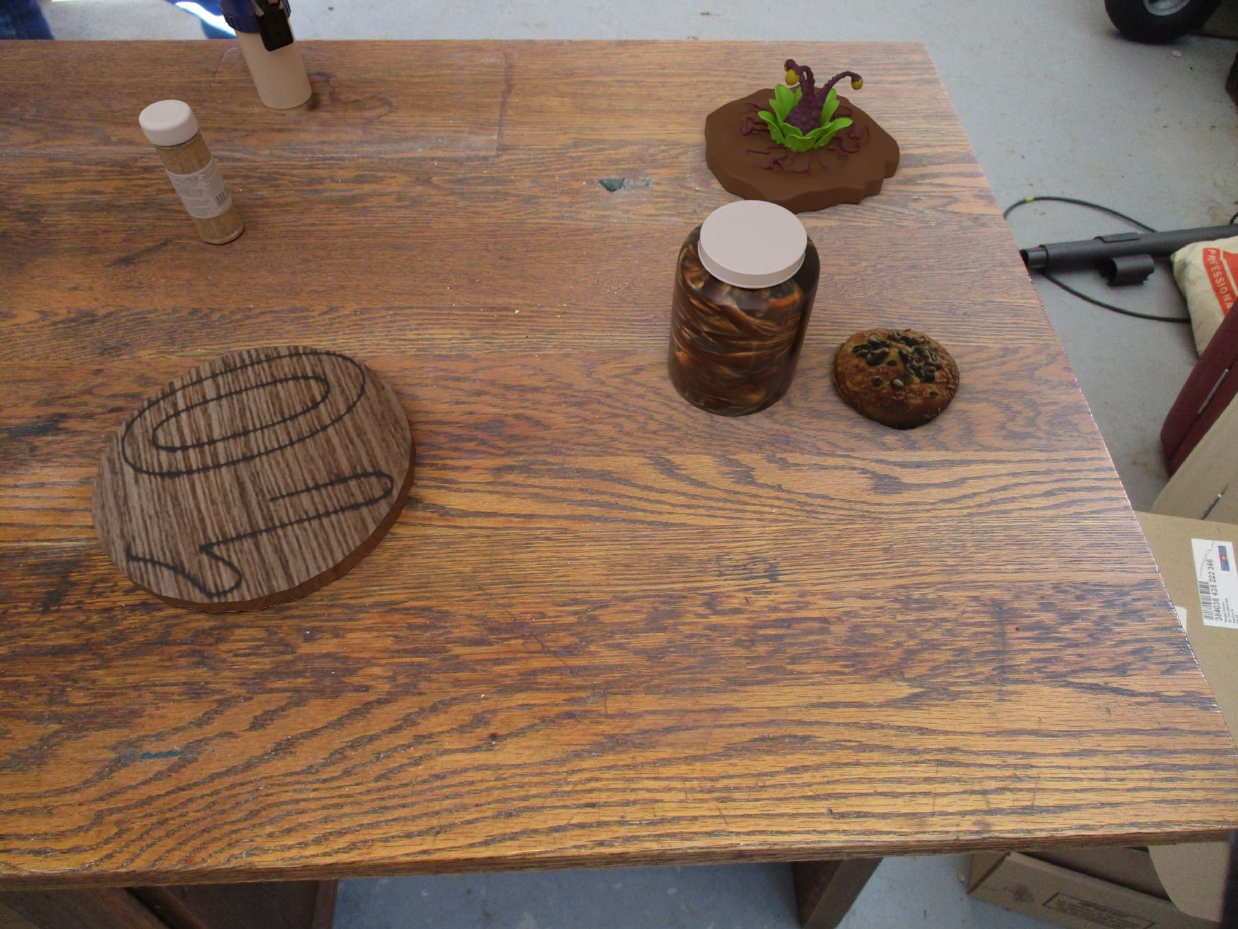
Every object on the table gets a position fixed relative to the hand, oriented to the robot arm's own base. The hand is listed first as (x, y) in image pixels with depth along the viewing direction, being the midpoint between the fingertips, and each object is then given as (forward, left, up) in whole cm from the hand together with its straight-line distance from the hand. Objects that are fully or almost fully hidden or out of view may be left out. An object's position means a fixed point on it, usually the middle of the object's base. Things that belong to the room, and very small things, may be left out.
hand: (264, 30), depth 92 cm
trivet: (+43, -34, -8) cm, 55 cm away
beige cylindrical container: (0, 0, -8) cm, 8 cm away
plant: (+52, +30, -8) cm, 61 cm away
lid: (0, 0, +3) cm, 3 cm away
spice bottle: (+15, -19, -8) cm, 25 cm away
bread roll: (+77, +9, -8) cm, 78 cm away
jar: (+65, +1, -8) cm, 65 cm away
